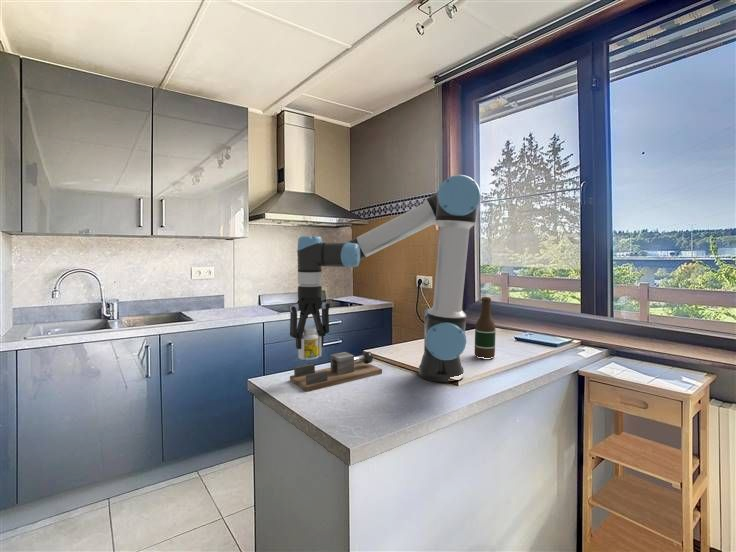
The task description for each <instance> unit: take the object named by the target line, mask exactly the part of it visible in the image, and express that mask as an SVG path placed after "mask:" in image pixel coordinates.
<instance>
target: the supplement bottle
mask: <svg viewBox="0 0 736 552" xmlns="http://www.w3.org/2000/svg"><path fill="white" fill-rule="evenodd" d="M302 338H303V339H304V360H306V361H310V360H313V361H314V360H316V359H318V358H319V347H318V333H317V329H316V326H315V327H314V326H309V327H308V326H307V327H306V326H305V327H304V331H303V336H302Z"/></svg>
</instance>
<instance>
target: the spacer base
mask: <svg viewBox="0 0 736 552" xmlns="http://www.w3.org/2000/svg"><path fill="white" fill-rule="evenodd" d="M354 357H355V355H353V354H352V353H349V352H347V351H344V352H343V351H341V352H338V353H333V354H332V353H331V354H330V367H327V368H321V369H317V370H316V369H315V368H316V367H315V366H316V365H315V363H311V364H305V365H300V366H296V367H293V370H294V371H293V372H294V374H293V375H289V381H290V382H292V383H293V384H294V385H296V386H297V387H299V388H301V390H303V391H305V392H307V393H308V392H312V391H315V390H319V389H324V388H328V387H332V386H336V385H341V384H346V383H348V382H352V381H353V382H354V381H356V380H361V379H364V378H369V377H373V376H377V375H382V374H383V369H382V368H379V366H378V367H377V366H376V365H373V364H371V363H367V364H365V363H364V362H361V363H356V364H354ZM336 361H337V366H336Z"/></svg>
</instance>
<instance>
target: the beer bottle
mask: <svg viewBox="0 0 736 552" xmlns="http://www.w3.org/2000/svg"><path fill="white" fill-rule="evenodd" d="M480 300H481V305H480V306H481V308H480V315H479V318H478V319H477V321H476V324H475V326H474V327H475V328H474V356H475V355H476V356H478V357H484V358H491V357H494V356H495V355H496V333H497V332H496V324H495V321H494V319H493V318H492V314H491V313H492V311H491V310H492V309H491V301H492V298H491V297H489V296H483V297H481V299H480ZM494 358H495V357H494Z"/></svg>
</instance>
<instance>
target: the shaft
mask: <svg viewBox="0 0 736 552" xmlns="http://www.w3.org/2000/svg"><path fill="white" fill-rule="evenodd" d="M373 360H374V355H373V354H372V352H371V351H364V352H363V353H362V354H361V355H357V356H354V364H356V363H361V362H364V363H365V364H367V363H369V364H371V363H372V362H373ZM336 366H337V361H336Z"/></svg>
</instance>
